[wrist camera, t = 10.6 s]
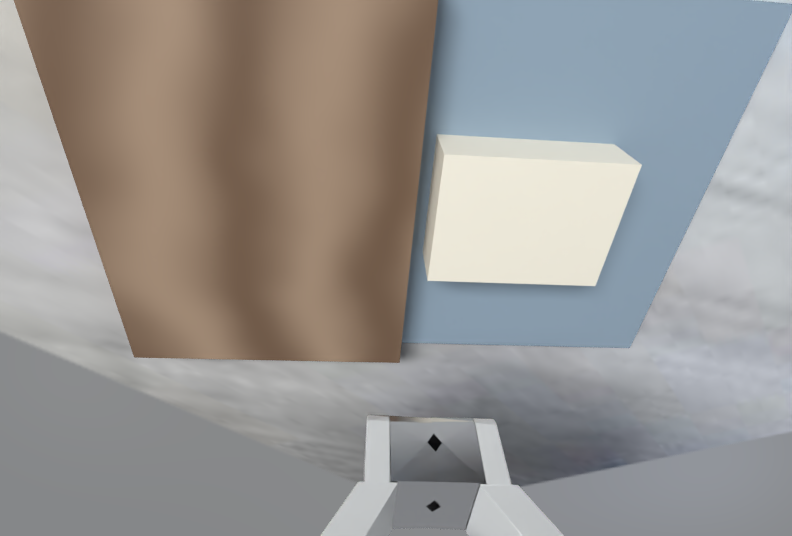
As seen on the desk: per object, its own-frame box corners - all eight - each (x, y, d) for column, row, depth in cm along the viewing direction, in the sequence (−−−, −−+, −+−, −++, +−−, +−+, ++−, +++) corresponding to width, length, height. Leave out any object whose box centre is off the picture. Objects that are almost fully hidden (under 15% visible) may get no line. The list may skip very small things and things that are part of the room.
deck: (434, -27, 17) (441, -26, 15) (397, 337, 27) (399, 362, 25) (32, -62, 16) (-8, -65, 14) (149, 331, 26) (134, 357, 24)
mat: (788, 3, 18) (795, 4, 18) (626, 343, 28) (629, 348, 27) (434, -27, 17) (435, -27, 16) (397, 337, 27) (398, 342, 26)
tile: (614, 144, 20) (642, 165, 18) (575, 257, 24) (595, 286, 22) (436, 134, 20) (444, 154, 18) (422, 252, 23) (427, 280, 21)
